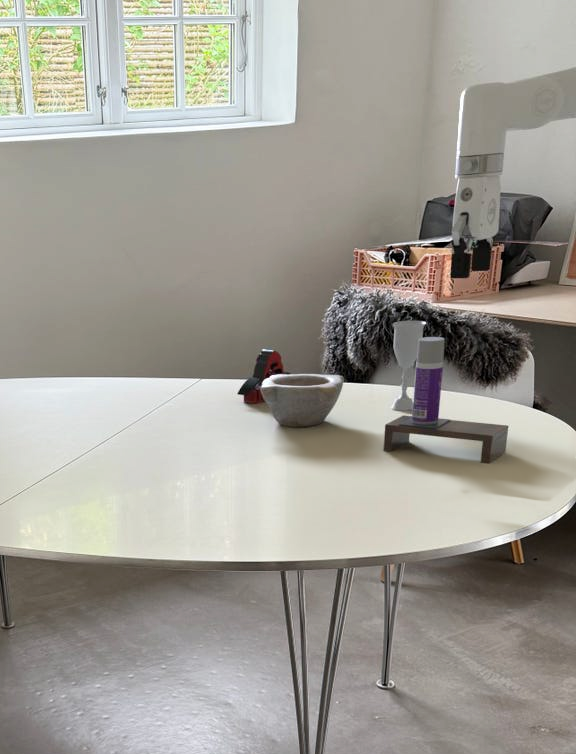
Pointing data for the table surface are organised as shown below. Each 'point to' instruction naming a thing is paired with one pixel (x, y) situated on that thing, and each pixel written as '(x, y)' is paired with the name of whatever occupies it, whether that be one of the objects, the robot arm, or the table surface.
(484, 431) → the shelf
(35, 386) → the table surface
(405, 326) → the chalice
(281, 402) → the mortar
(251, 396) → the red black angled piece
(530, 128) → the robot arm
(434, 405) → the container
